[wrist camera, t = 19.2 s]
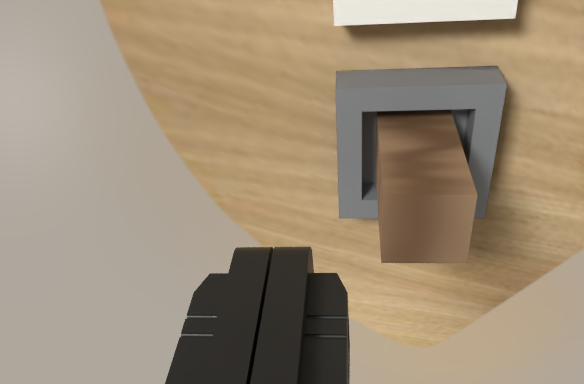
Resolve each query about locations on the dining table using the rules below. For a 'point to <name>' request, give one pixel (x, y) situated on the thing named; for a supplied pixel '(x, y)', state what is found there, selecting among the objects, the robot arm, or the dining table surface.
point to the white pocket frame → (420, 11)
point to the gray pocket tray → (404, 97)
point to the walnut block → (423, 188)
